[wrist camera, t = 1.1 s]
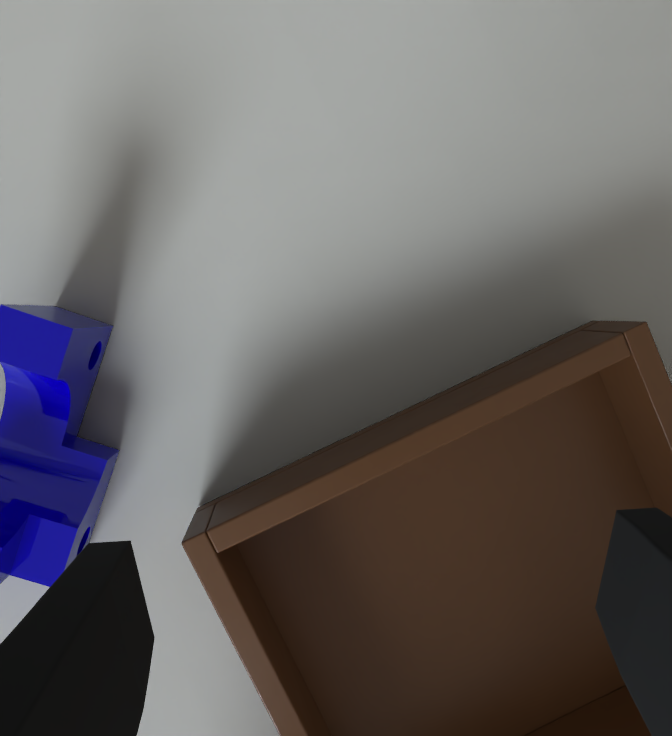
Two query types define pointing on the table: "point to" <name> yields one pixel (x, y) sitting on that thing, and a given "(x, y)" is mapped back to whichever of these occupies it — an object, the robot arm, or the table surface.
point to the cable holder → (48, 440)
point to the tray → (451, 552)
